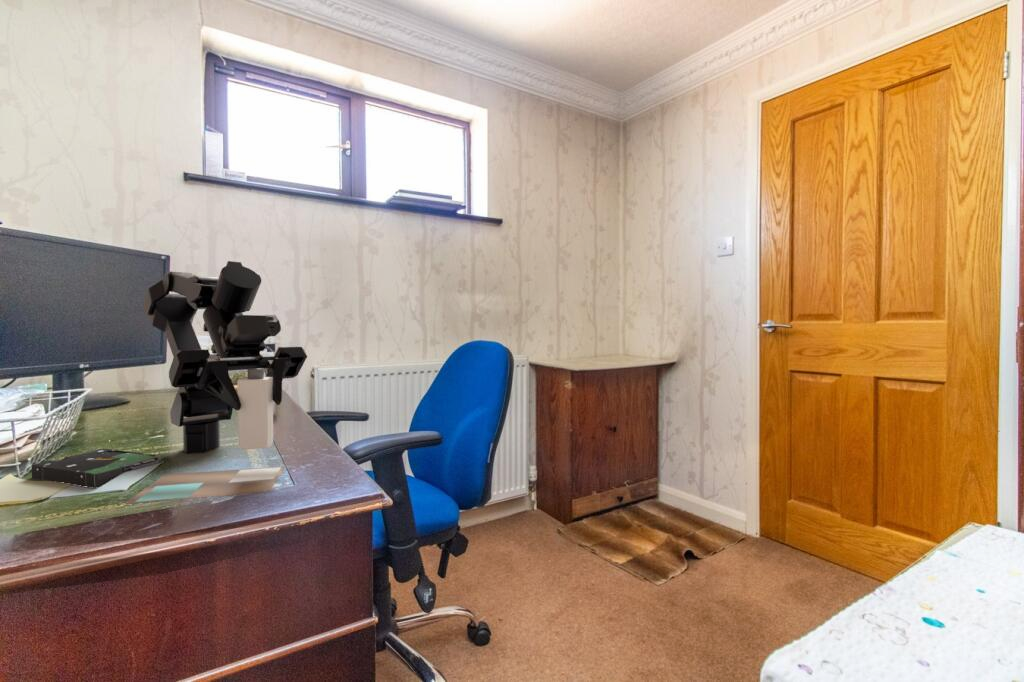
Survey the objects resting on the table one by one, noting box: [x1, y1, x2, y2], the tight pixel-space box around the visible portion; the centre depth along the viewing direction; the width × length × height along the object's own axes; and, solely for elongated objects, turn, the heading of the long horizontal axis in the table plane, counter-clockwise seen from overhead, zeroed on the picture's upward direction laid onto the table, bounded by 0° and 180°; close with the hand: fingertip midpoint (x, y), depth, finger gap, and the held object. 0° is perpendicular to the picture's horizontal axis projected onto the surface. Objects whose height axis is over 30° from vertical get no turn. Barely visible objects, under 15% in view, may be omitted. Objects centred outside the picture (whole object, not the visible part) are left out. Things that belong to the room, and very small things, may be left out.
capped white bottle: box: [237, 368, 274, 451], centre depth 71 cm, size 4×4×12 cm
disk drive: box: [31, 448, 164, 489], centre depth 75 cm, size 10×3×15 cm
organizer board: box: [124, 465, 286, 505], centre depth 67 cm, size 12×17×1 cm
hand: (259, 405), depth 70 cm, fingers closed on capped white bottle, 5 cm apart
